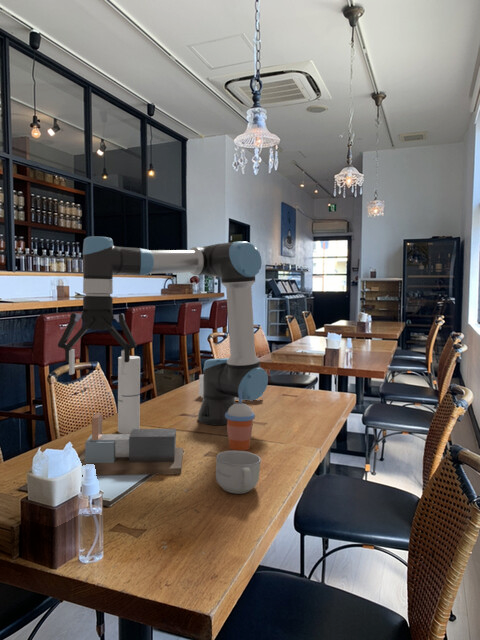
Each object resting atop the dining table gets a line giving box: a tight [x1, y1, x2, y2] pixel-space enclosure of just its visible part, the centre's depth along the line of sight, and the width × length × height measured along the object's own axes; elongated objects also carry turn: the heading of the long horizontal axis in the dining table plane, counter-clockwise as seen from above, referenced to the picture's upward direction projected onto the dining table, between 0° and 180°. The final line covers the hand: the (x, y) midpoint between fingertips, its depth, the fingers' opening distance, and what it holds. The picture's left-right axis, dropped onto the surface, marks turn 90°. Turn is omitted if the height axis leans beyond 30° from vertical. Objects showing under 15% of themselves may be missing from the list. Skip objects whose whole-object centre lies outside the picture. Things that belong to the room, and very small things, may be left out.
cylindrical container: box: [117, 355, 141, 434], centre depth 155 cm, size 7×7×25 cm
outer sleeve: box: [129, 428, 177, 463], centre depth 126 cm, size 12×7×7 cm, turn 95°
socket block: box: [84, 434, 116, 463], centre depth 125 cm, size 7×7×6 cm
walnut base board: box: [78, 447, 184, 476], centre depth 126 cm, size 28×16×2 cm, turn 95°
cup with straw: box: [225, 389, 256, 451], centre depth 140 cm, size 9×9×18 cm
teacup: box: [215, 450, 262, 495], centre depth 109 cm, size 14×11×8 cm
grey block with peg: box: [91, 412, 130, 457], centre depth 125 cm, size 13×5×11 cm, turn 95°
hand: (97, 374), depth 124 cm, fingers open, 13 cm apart
